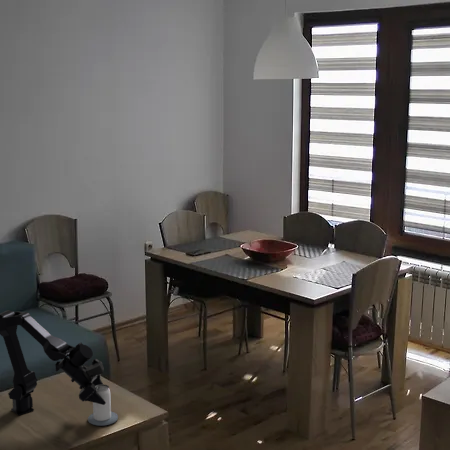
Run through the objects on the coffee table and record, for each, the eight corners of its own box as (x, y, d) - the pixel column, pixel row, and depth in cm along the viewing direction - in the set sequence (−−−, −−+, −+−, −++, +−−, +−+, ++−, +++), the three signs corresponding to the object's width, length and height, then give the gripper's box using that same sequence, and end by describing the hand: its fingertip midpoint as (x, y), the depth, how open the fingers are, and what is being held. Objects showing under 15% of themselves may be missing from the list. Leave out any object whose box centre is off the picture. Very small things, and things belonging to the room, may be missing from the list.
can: (107, 422, 255) (106, 391, 253) (91, 420, 256) (89, 390, 254) (113, 414, 262) (112, 384, 259) (97, 413, 263) (96, 383, 260)
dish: (98, 429, 252) (98, 427, 252) (82, 419, 260) (82, 416, 260) (123, 420, 259) (123, 418, 259) (107, 410, 267) (107, 408, 267)
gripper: (87, 365, 245) (119, 394, 248) (93, 346, 264) (123, 373, 266) (65, 387, 246) (97, 415, 249) (73, 366, 265) (103, 393, 267)
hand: (106, 398), depth 258 cm, fingers open, 9 cm apart
